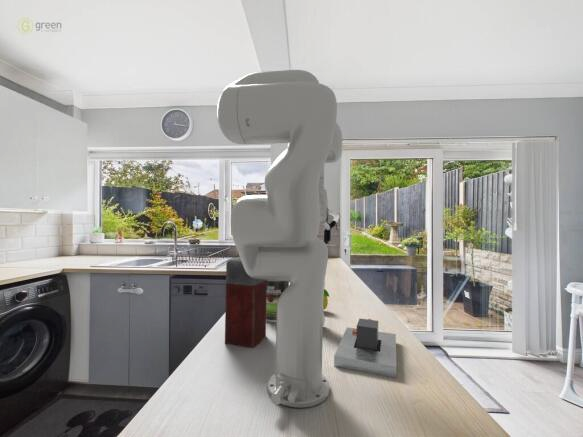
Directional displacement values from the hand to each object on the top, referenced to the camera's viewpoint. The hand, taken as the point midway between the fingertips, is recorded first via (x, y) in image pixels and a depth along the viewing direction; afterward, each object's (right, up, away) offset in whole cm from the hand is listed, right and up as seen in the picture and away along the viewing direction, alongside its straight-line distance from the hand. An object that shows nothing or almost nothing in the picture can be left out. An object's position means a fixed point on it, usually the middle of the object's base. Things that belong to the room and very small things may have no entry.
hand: (310, 242), depth 84 cm
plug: (+15, -29, -8) cm, 33 cm away
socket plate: (+15, -28, -9) cm, 33 cm away
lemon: (+6, -29, +26) cm, 39 cm away
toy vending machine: (-18, -28, 0) cm, 34 cm away
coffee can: (-12, -29, +18) cm, 36 cm away
